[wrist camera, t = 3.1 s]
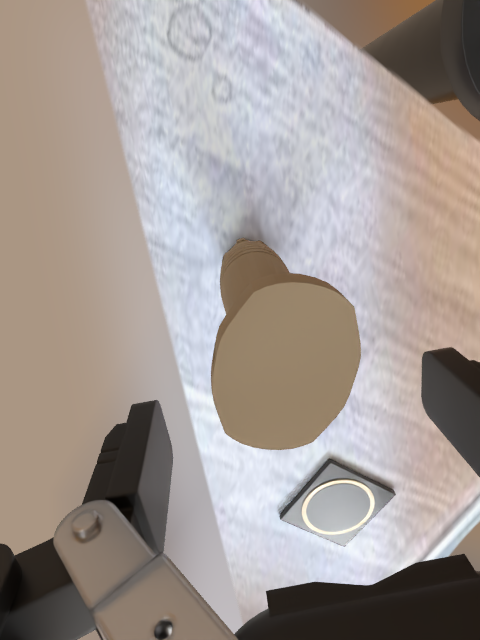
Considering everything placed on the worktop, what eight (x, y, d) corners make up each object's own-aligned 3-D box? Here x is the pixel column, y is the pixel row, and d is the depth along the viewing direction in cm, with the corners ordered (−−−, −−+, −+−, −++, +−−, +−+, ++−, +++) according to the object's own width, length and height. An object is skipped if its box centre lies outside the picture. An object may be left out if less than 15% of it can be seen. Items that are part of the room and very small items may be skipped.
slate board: (329, 458, 35) (331, 463, 34) (393, 490, 37) (396, 495, 36) (279, 515, 37) (280, 521, 36) (342, 542, 39) (344, 548, 38)
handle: (204, 299, 28) (201, 443, 15) (218, 205, 26) (231, 271, 12) (271, 309, 29) (329, 455, 15) (291, 218, 27) (382, 294, 13)
